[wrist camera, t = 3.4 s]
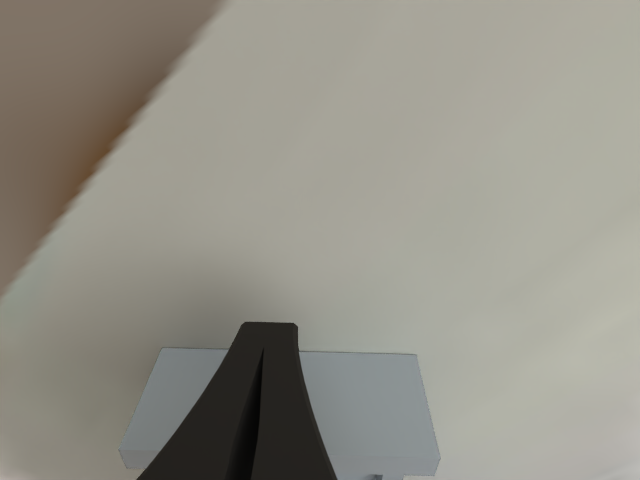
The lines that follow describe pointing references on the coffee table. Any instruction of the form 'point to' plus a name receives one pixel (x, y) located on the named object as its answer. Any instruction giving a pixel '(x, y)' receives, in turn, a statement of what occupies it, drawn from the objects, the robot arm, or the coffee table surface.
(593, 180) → the coffee table surface
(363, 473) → the tray
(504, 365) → the coffee table surface
